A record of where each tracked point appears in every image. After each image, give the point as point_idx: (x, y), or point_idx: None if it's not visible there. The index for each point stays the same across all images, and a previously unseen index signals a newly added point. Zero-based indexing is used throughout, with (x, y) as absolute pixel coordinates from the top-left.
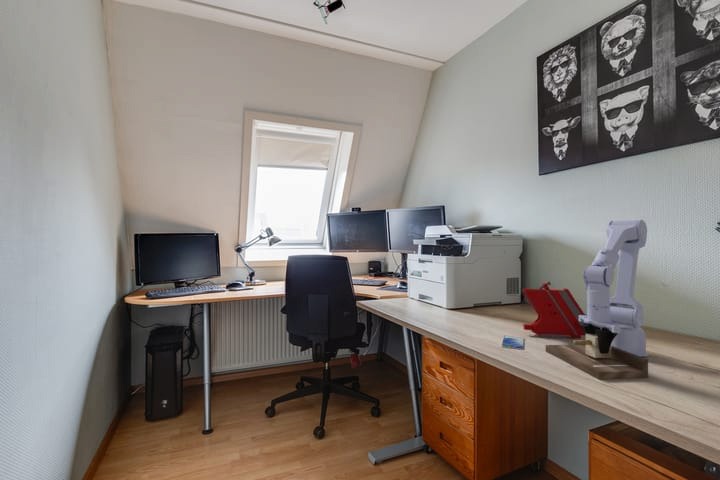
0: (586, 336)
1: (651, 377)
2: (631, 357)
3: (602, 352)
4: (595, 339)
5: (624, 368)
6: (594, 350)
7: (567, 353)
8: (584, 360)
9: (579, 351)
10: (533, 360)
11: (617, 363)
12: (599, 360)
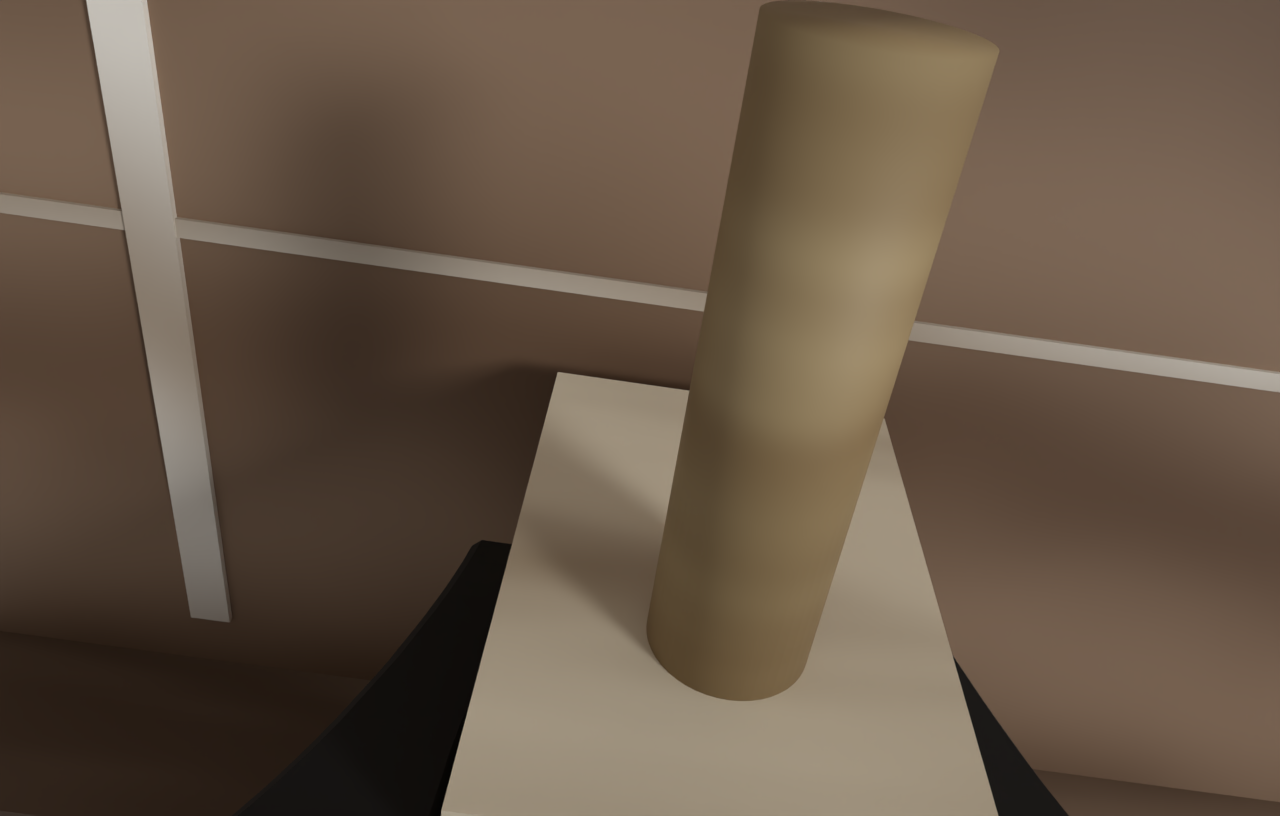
0: (943, 798)
1: None
2: (122, 783)
3: (461, 569)
4: (457, 752)
5: (52, 465)
6: (558, 480)
7: (1193, 73)
8: (567, 59)
9: (1144, 484)
10: None
11: (318, 562)
12: (514, 402)
